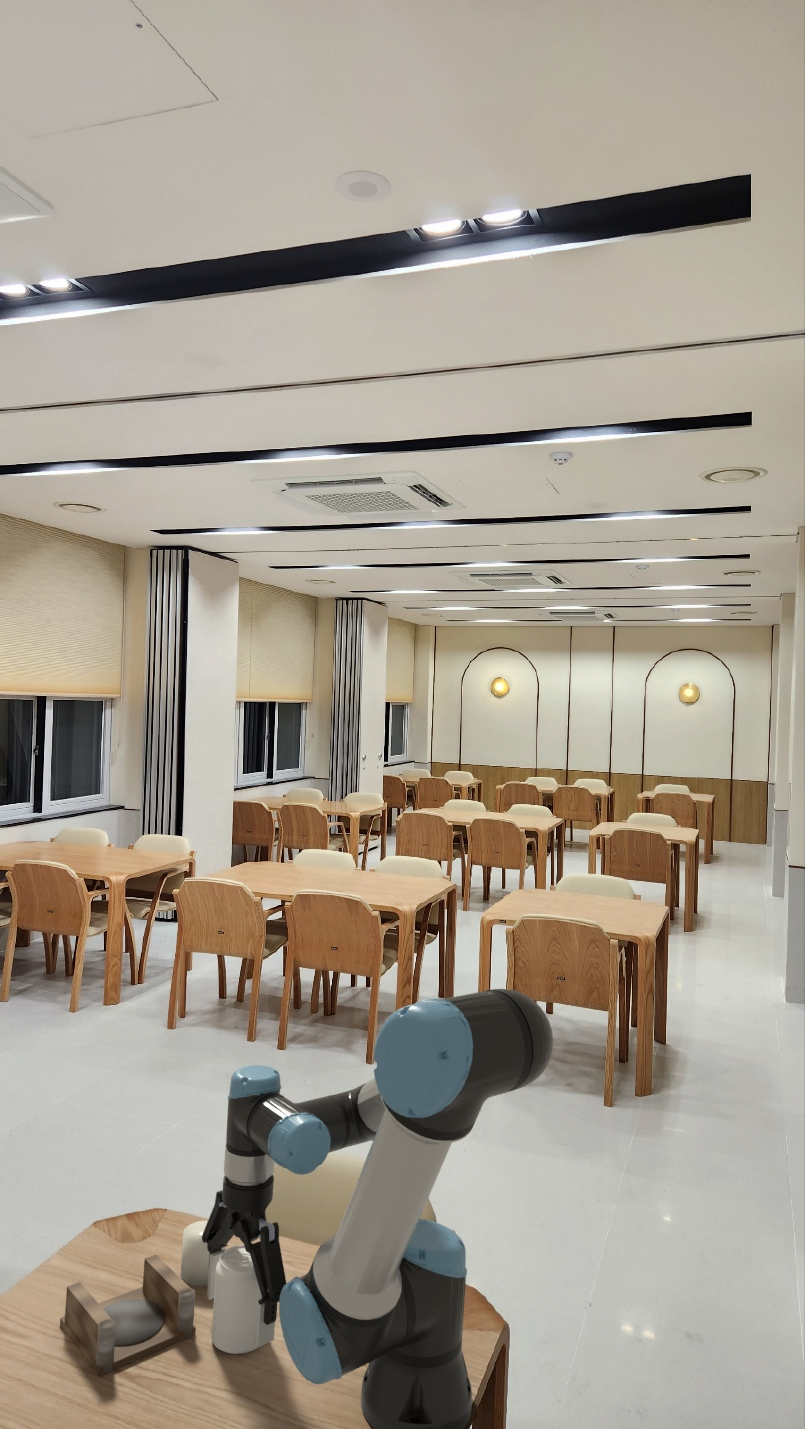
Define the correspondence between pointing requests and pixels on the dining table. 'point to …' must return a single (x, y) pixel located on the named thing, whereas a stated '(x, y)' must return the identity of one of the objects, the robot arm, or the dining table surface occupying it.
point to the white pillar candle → (195, 1255)
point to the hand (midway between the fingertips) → (239, 1318)
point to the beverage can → (235, 1302)
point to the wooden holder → (130, 1318)
